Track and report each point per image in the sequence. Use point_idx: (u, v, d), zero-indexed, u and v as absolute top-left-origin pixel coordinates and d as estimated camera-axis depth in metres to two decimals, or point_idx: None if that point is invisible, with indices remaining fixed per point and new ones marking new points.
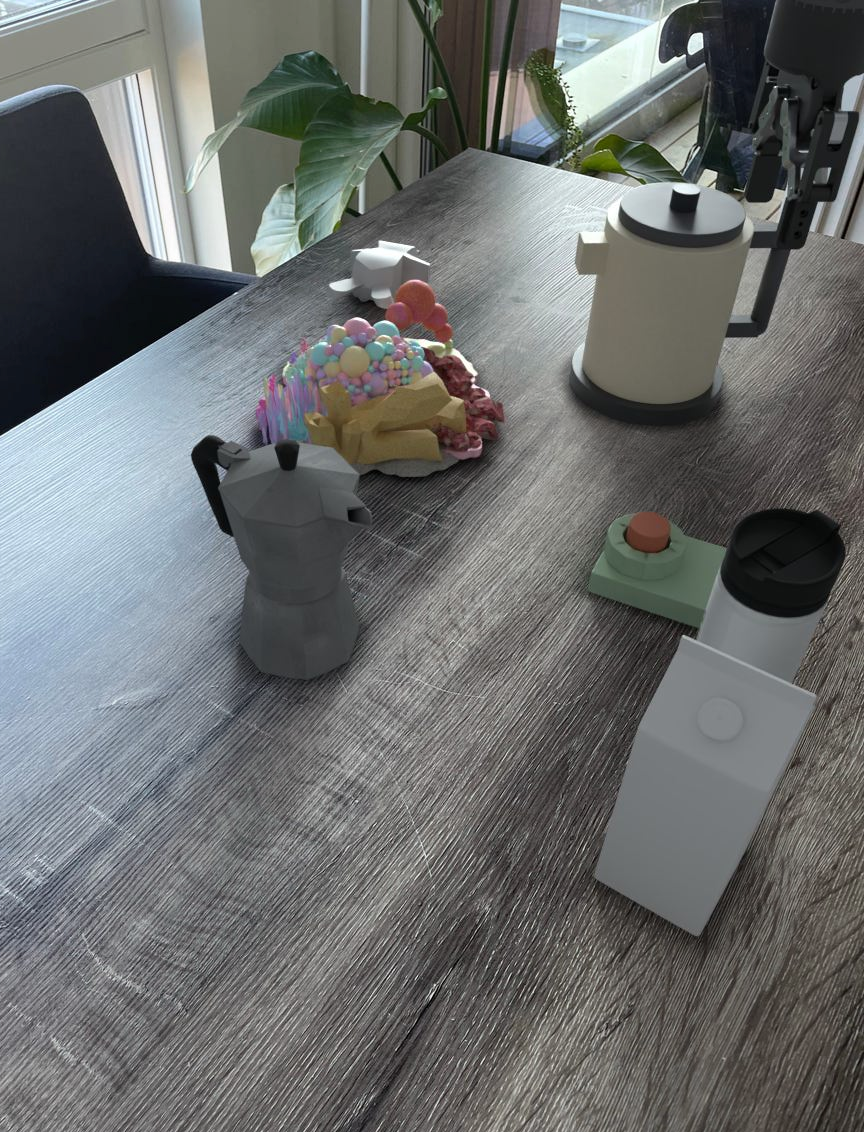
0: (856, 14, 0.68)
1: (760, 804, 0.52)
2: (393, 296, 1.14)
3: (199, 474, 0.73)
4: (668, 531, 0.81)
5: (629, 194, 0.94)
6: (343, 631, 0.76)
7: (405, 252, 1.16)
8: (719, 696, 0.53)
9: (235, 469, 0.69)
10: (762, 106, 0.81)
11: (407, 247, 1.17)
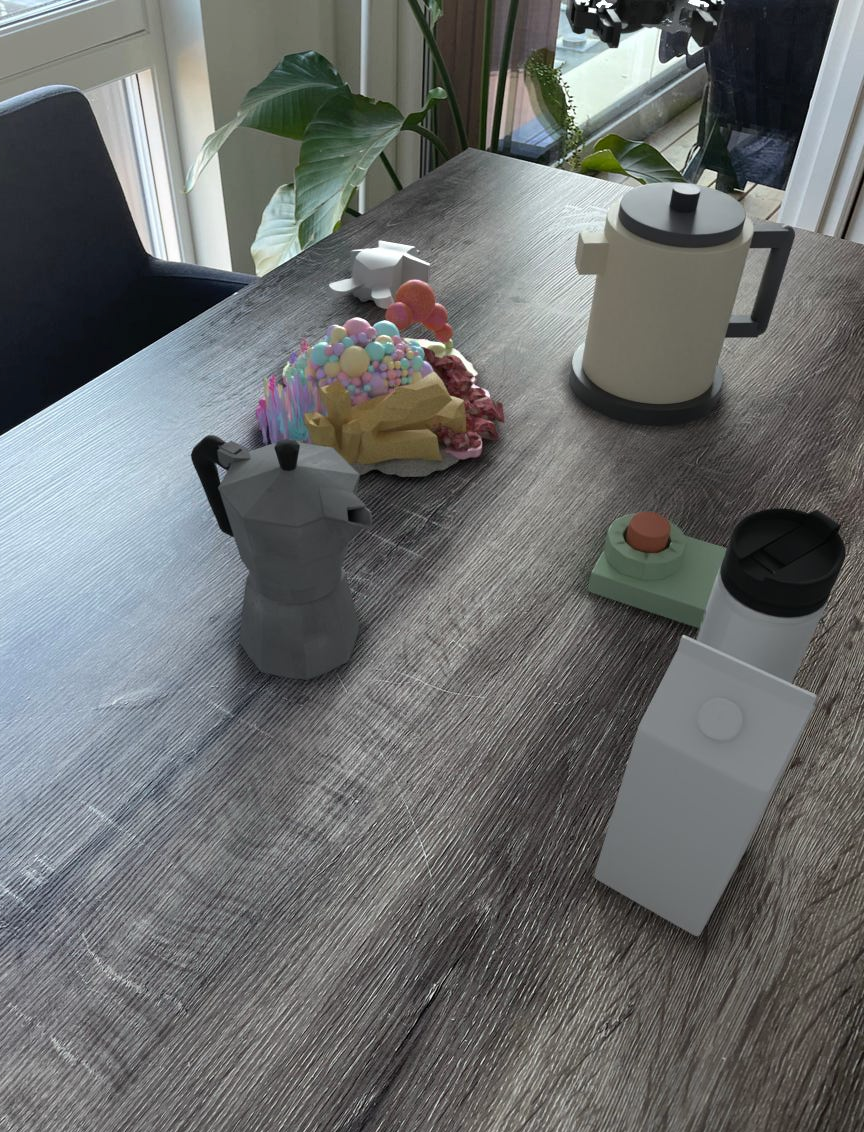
0: None
1: (760, 804, 0.52)
2: (393, 296, 1.14)
3: (199, 474, 0.73)
4: (668, 531, 0.81)
5: (629, 194, 0.94)
6: (343, 631, 0.76)
7: (405, 252, 1.16)
8: (719, 696, 0.53)
9: (235, 469, 0.69)
10: None
11: (407, 247, 1.17)
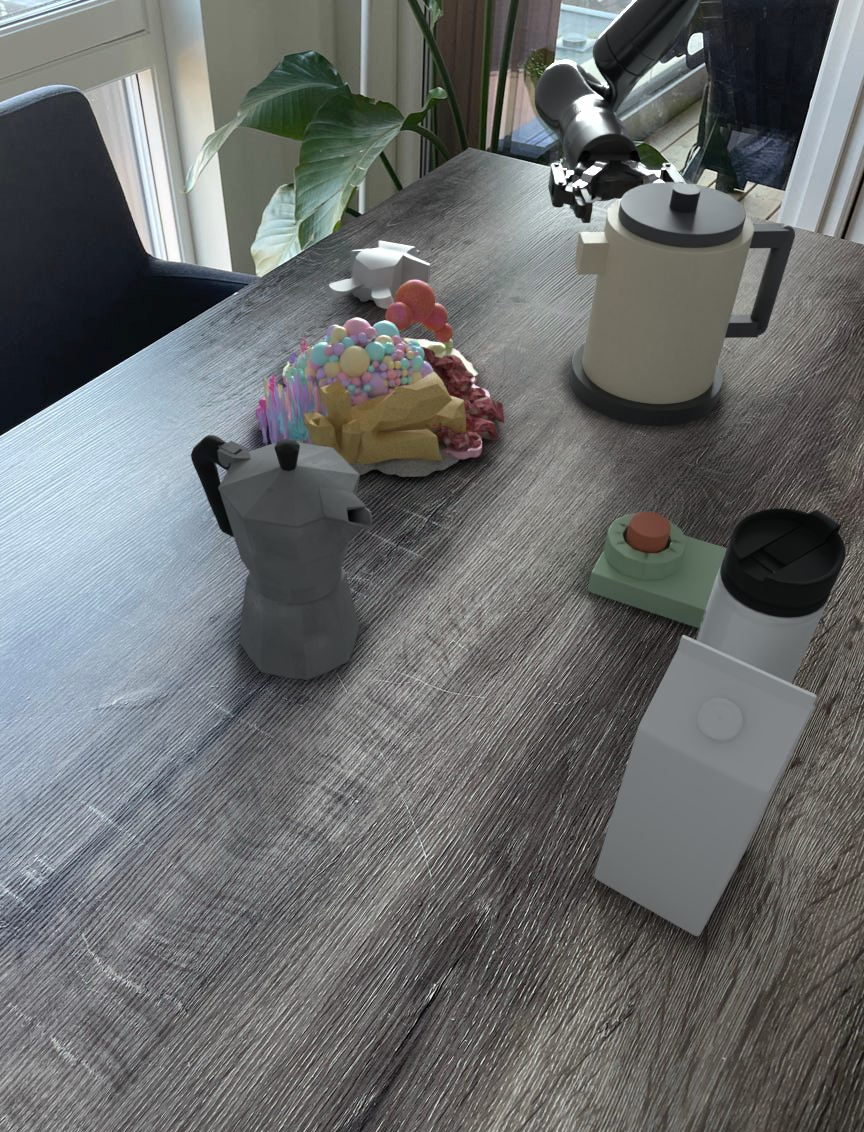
0: (569, 153, 1.19)
1: (760, 804, 0.52)
2: (393, 296, 1.14)
3: (199, 474, 0.73)
4: (668, 531, 0.81)
5: (629, 194, 0.94)
6: (343, 631, 0.76)
7: (405, 252, 1.16)
8: (719, 696, 0.53)
9: (235, 469, 0.69)
10: None
11: (407, 247, 1.17)
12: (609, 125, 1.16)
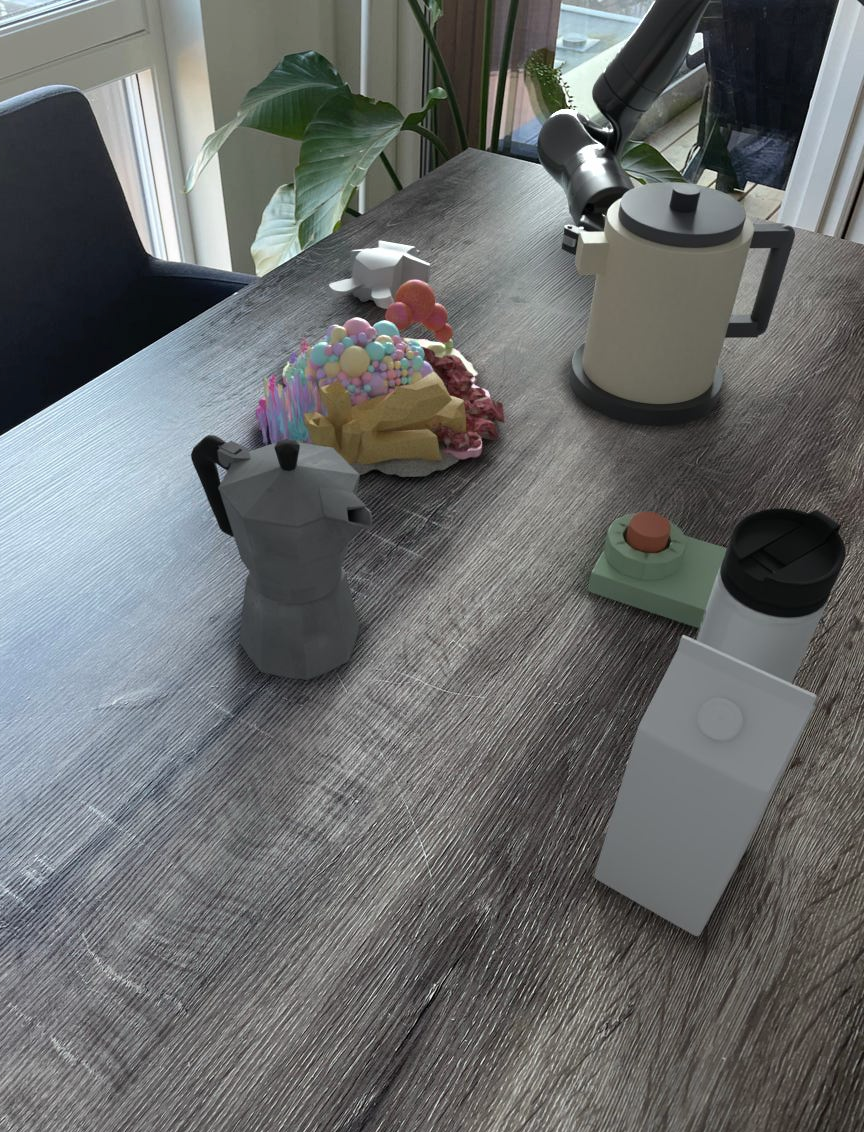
0: (572, 204, 1.18)
1: (760, 804, 0.52)
2: (393, 296, 1.14)
3: (199, 474, 0.73)
4: (668, 531, 0.81)
5: (629, 194, 0.94)
6: (343, 631, 0.76)
7: (405, 252, 1.16)
8: (719, 696, 0.53)
9: (235, 469, 0.69)
10: None
11: (407, 247, 1.17)
12: (613, 178, 1.15)
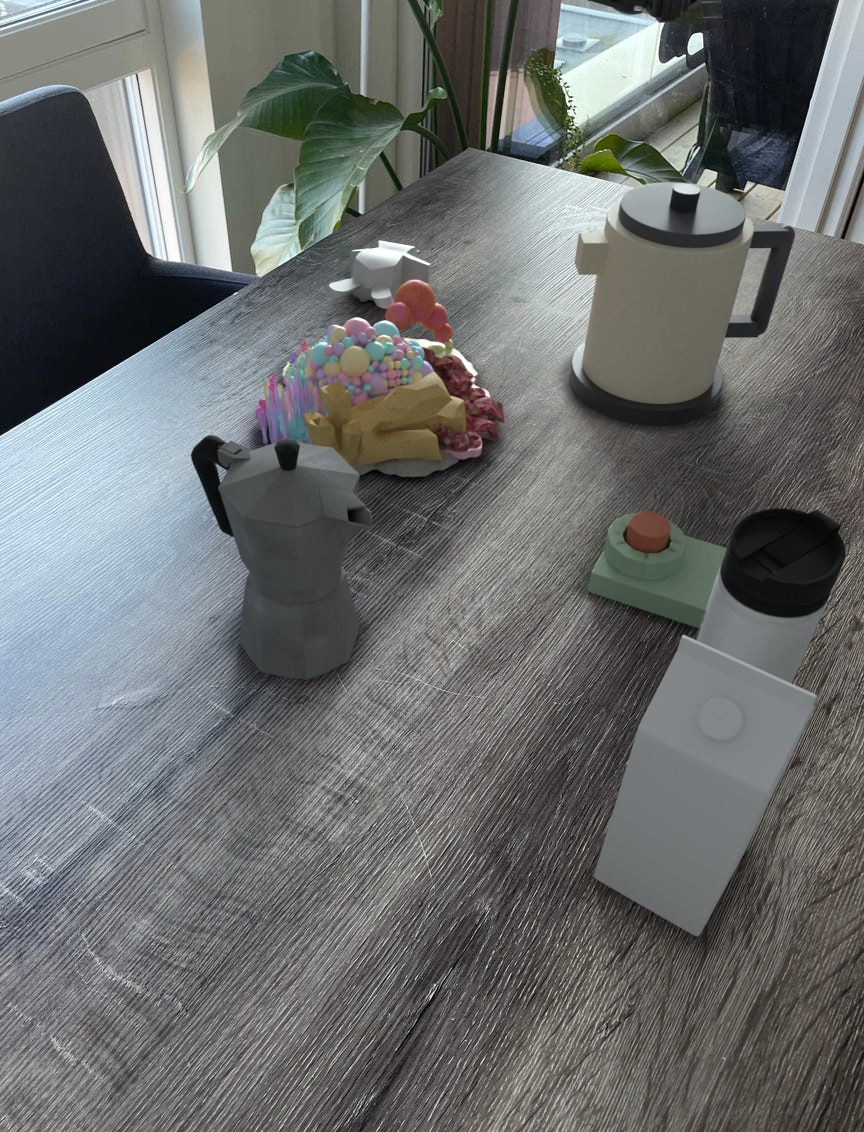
0: None
1: (760, 804, 0.52)
2: (393, 296, 1.14)
3: (199, 474, 0.73)
4: (668, 531, 0.81)
5: (629, 194, 0.94)
6: (343, 631, 0.76)
7: (405, 252, 1.16)
8: (719, 696, 0.53)
9: (235, 469, 0.69)
10: None
11: (407, 247, 1.17)
12: None
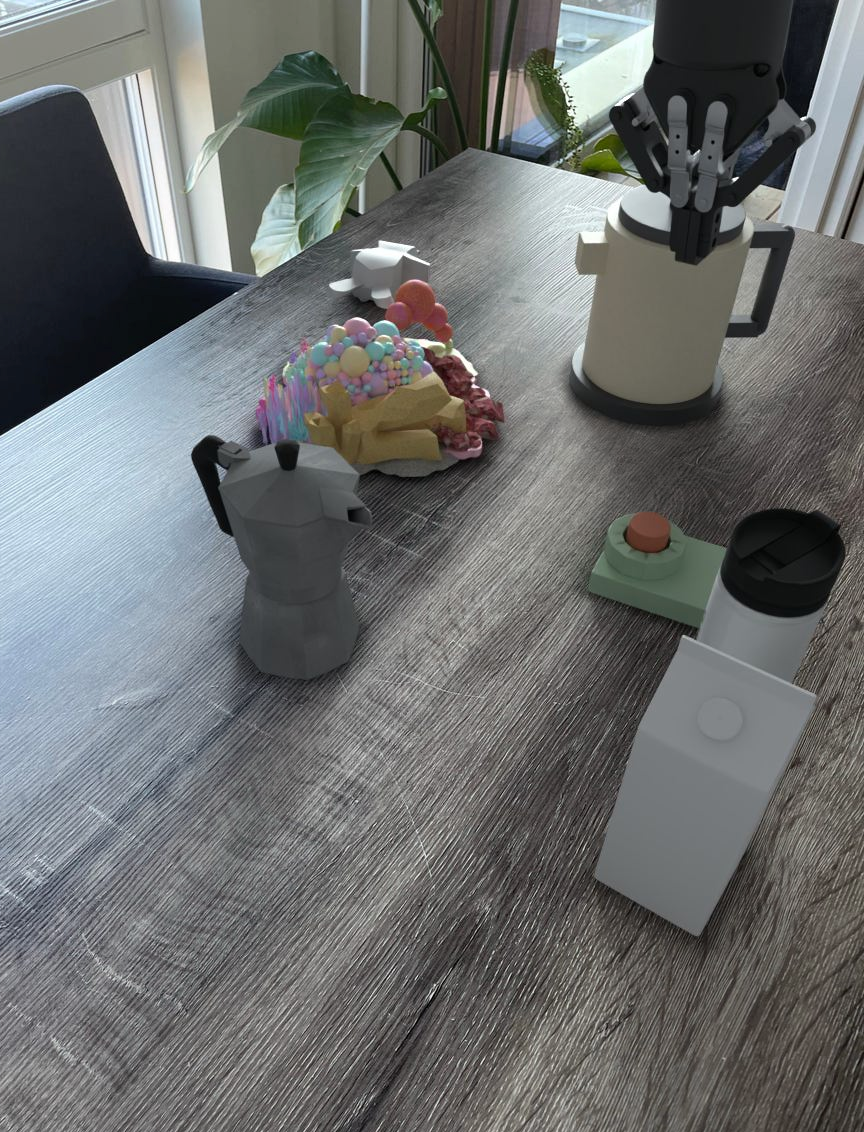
0: None
1: (760, 804, 0.52)
2: (393, 296, 1.14)
3: (199, 474, 0.73)
4: (668, 531, 0.81)
5: (629, 194, 0.94)
6: (343, 631, 0.76)
7: (405, 252, 1.16)
8: (719, 696, 0.53)
9: (235, 469, 0.69)
10: (651, 153, 0.66)
11: (407, 247, 1.17)
12: None
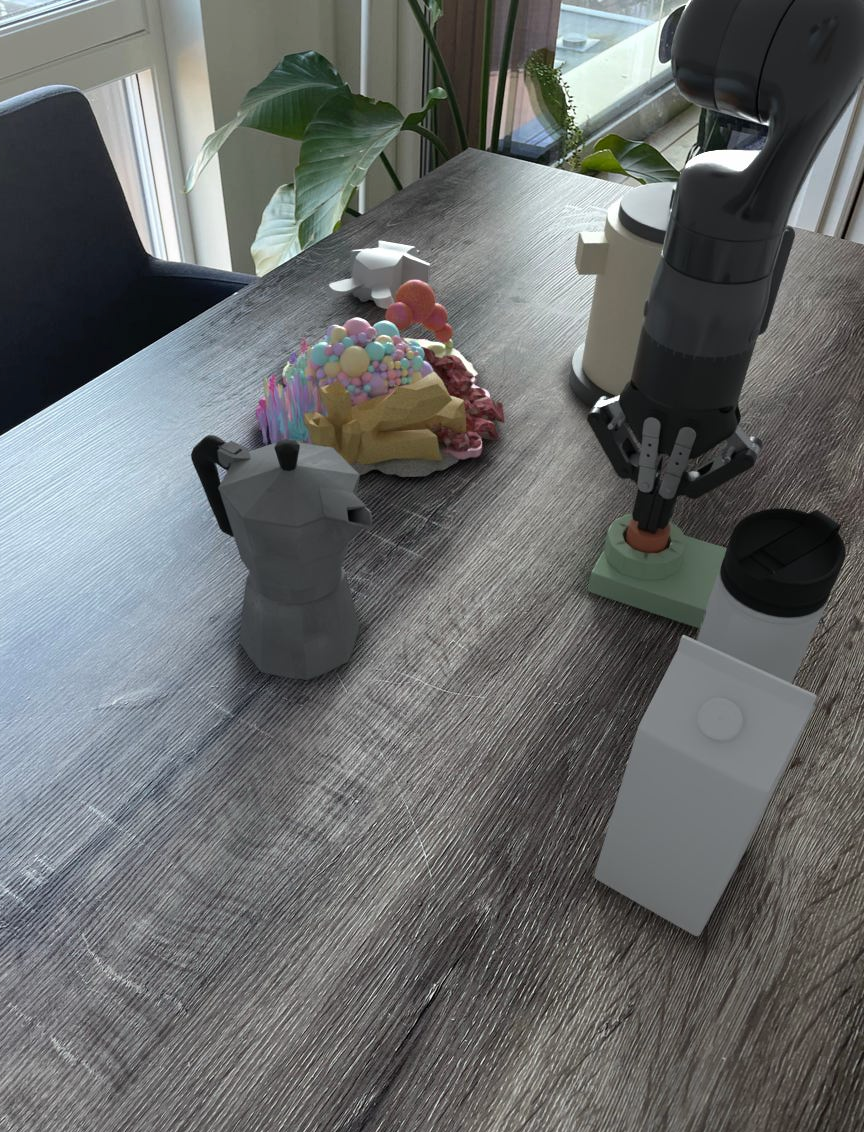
0: (754, 344, 0.68)
1: (760, 804, 0.52)
2: (393, 296, 1.14)
3: (199, 474, 0.73)
4: (668, 532, 0.81)
5: (629, 194, 0.94)
6: (343, 631, 0.76)
7: (405, 252, 1.16)
8: (719, 696, 0.53)
9: (235, 469, 0.69)
10: (622, 449, 0.77)
11: (407, 247, 1.17)
12: None
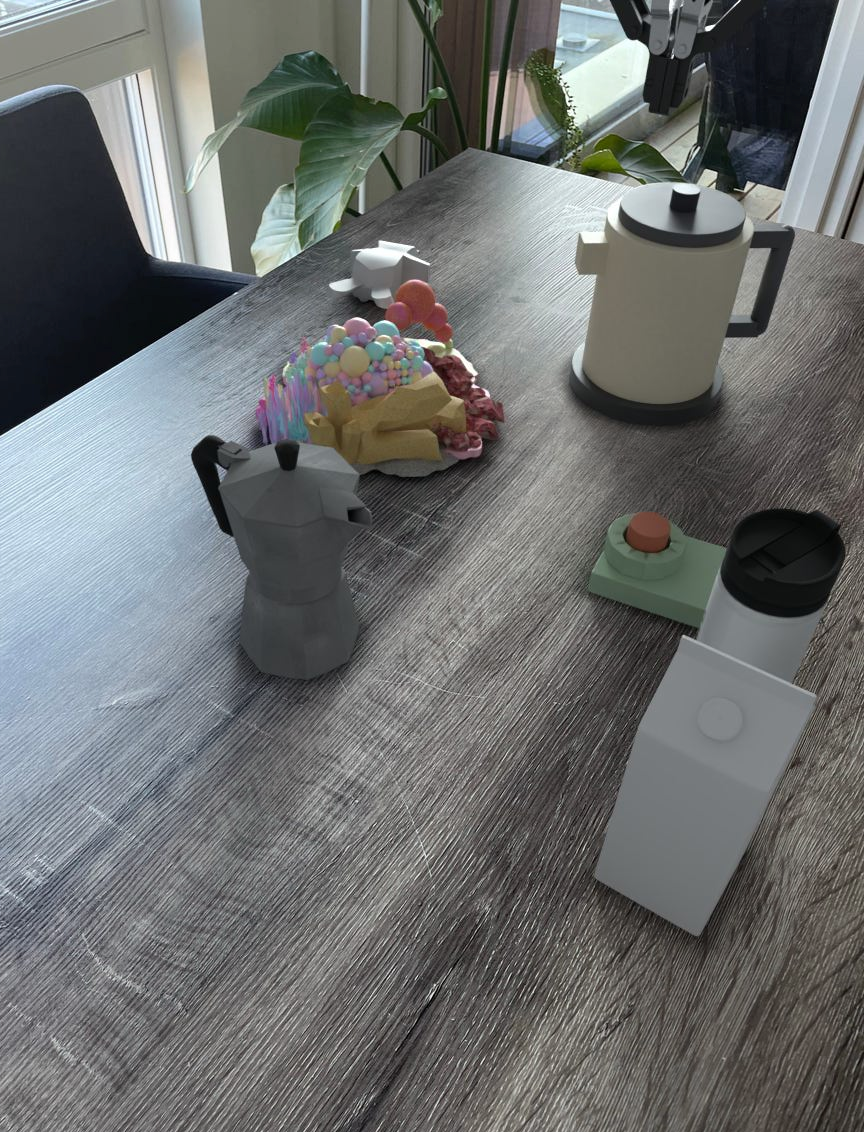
0: None
1: (760, 804, 0.52)
2: (393, 296, 1.14)
3: (199, 474, 0.73)
4: (668, 531, 0.81)
5: (629, 194, 0.94)
6: (343, 631, 0.76)
7: (405, 252, 1.16)
8: (719, 696, 0.53)
9: (235, 469, 0.69)
10: None
11: (407, 247, 1.17)
12: None
